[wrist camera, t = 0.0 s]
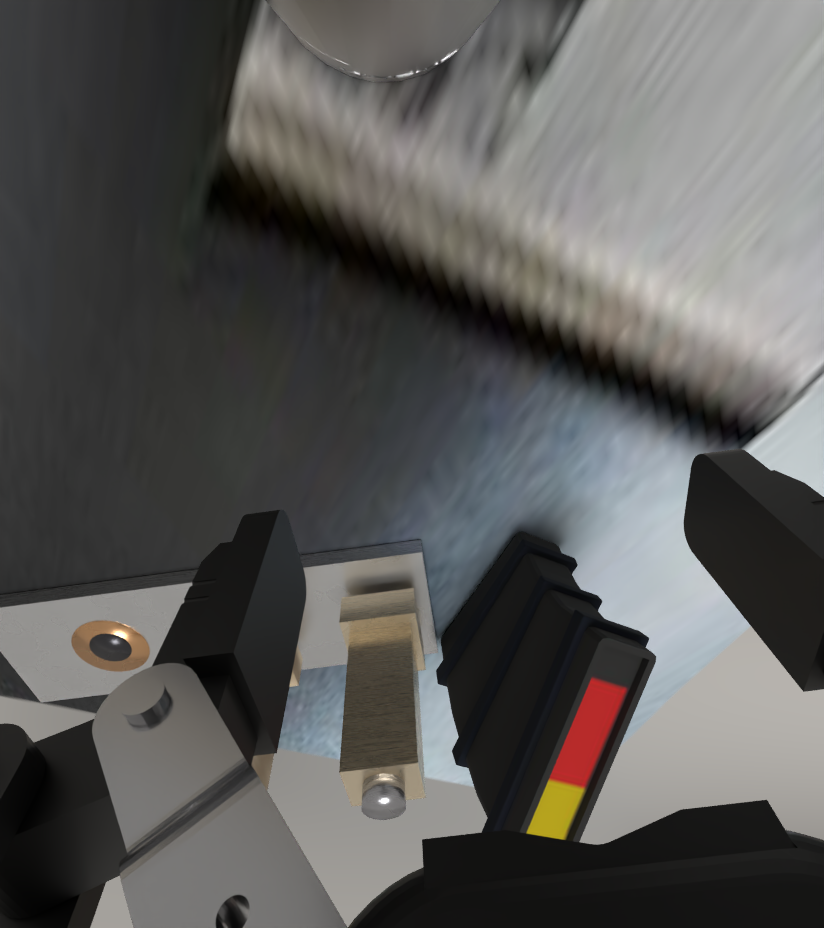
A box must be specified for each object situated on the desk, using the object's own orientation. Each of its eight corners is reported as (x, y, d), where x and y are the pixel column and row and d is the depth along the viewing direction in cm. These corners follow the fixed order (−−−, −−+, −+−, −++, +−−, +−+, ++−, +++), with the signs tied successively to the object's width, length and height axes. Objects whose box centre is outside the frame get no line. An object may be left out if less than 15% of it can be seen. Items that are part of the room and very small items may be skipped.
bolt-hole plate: (-19, 597, 34) (-219, 821, 22) (420, 539, 33) (439, 742, 22) (50, 687, 38) (-88, 910, 27) (436, 638, 37) (458, 848, 26)
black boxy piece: (415, 685, 37) (496, 869, 23) (486, 512, 37) (614, 587, 22) (462, 698, 38) (568, 883, 24) (531, 529, 38) (683, 613, 23)
